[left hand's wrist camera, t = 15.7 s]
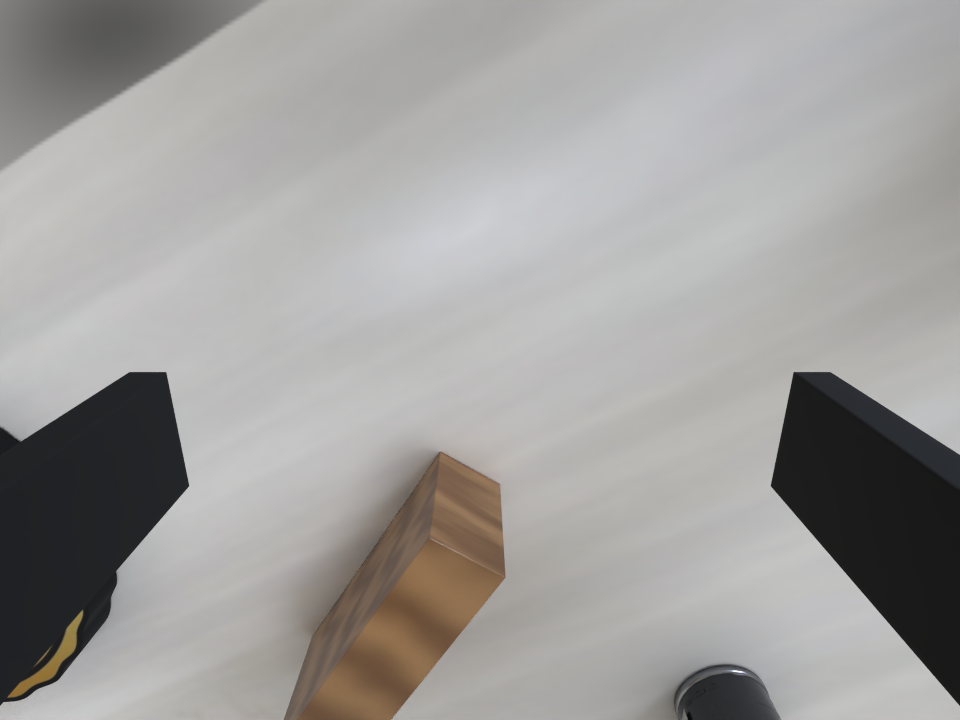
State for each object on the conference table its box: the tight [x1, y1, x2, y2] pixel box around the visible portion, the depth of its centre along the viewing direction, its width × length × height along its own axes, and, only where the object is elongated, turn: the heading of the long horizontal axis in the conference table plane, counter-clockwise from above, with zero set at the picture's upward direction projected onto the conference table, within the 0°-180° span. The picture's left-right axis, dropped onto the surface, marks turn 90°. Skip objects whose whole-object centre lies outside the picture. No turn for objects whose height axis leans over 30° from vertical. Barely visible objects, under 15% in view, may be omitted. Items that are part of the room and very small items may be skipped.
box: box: [284, 452, 505, 720], centre depth 49 cm, size 25×6×12 cm, turn 148°
